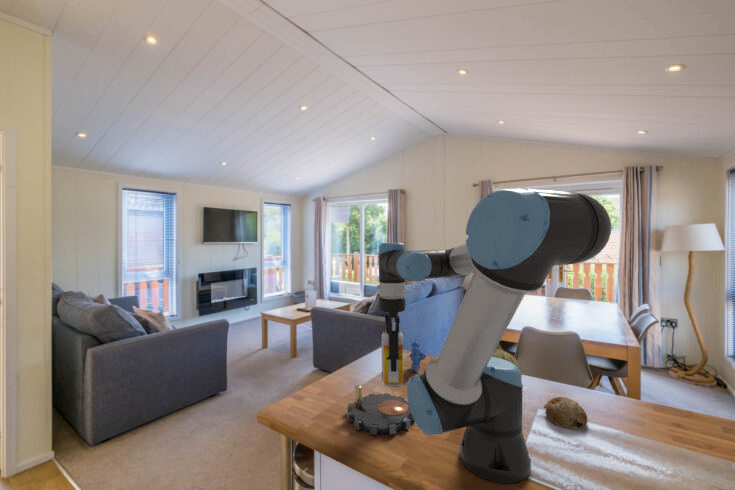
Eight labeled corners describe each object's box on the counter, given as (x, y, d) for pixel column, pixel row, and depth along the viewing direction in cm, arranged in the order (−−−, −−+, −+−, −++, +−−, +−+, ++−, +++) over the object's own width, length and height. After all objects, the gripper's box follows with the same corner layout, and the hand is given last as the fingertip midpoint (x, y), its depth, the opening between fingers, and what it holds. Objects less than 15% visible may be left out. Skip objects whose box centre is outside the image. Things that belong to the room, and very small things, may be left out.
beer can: (406, 386, 95) (406, 333, 95) (385, 389, 94) (385, 335, 93) (398, 377, 101) (398, 327, 101) (379, 380, 99) (378, 329, 99)
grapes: (427, 377, 125) (426, 345, 124) (408, 377, 126) (408, 344, 125) (426, 366, 136) (426, 336, 136) (409, 365, 137) (409, 335, 137)
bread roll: (559, 442, 90) (570, 422, 87) (533, 409, 99) (542, 390, 96) (588, 436, 93) (600, 416, 90) (560, 404, 102) (570, 385, 99)
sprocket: (418, 403, 104) (418, 376, 104) (411, 440, 85) (410, 407, 85) (357, 397, 109) (357, 371, 109) (337, 430, 90) (337, 399, 90)
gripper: (378, 291, 106) (378, 364, 107) (379, 303, 87) (380, 391, 88) (402, 291, 106) (402, 364, 107) (408, 302, 87) (409, 391, 88)
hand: (392, 376), depth 97 cm, fingers closed on beer can, 6 cm apart
